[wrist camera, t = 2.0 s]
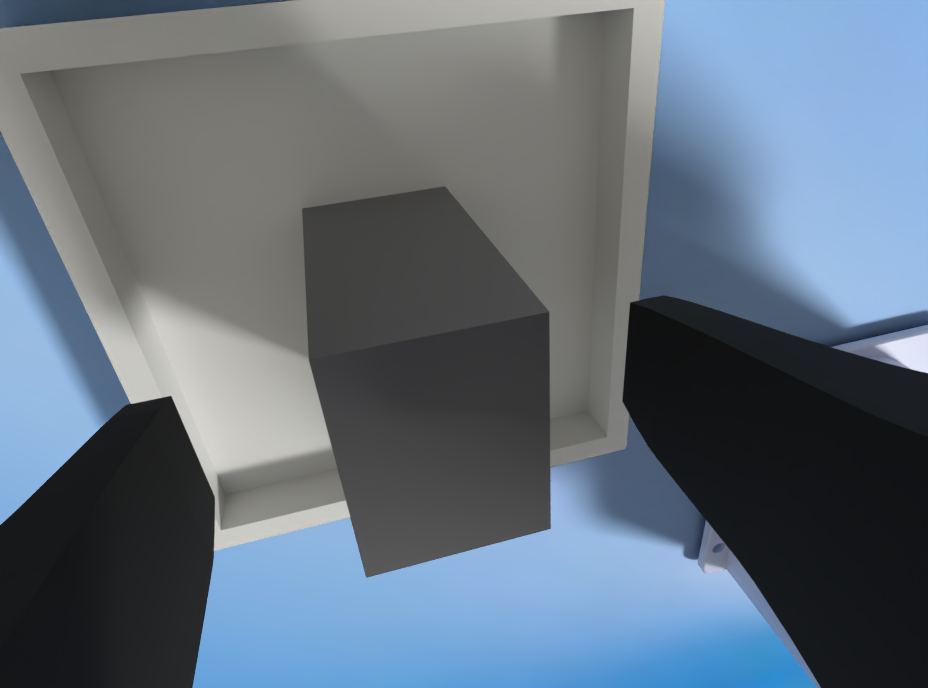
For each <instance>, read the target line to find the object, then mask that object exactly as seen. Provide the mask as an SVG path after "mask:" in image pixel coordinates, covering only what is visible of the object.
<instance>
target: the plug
mask: <svg viewBox="0 0 928 688" xmlns="http://www.w3.org/2000/svg"><path fill="white" fill-rule="evenodd" d="M302 219H303V242H304V264H305V287H306V310H307V333H308V355H309V363H310V367H311V370H312V374H313V378H314V382H315V385H316V389H317V393H318V397H319V401H320V404H321V408H322V412H323V416H324V419H325V423H326V427H327V431H328V435H329V438H330V442H331V446H332V450H333V454H334V457H335V461H336V465H337V469H338V472H339V476H340V480H341V484H342V488H343V491H344V495H345V499H346V503H347V506H348V510H349V514H350V518H351V522H352V525H353V529H354V533H355V537H356V540H357V544H358V548H359V552H360V556H361V559H362V563H363V567H364V571H365V575H366V578H367V577H371V576H375V575H378V574H382V573H386V572H390V571H393V570H397V569H401V568H405V567H408V566H412V565H416V564H420V563H423V562H427V561H431V560H435V559H438V558H442V557H446V556H450V555H453V554H457V553H461V552H465V551H469V550H472V549H476V548H480V547H484V546H487V545H491V544H495V543H499V542H502V541H506V540H510V539H514V538H517V537H521V536H525V535H529V534H532V533H536V532H540V531H544V530H547V529H551V525H550V328H549V311H548V310H547V308H546V307H545V306H544V305H543V304H542V302H541V301H540V300H539V299H538V297H537V296H536V295H535V294H534V293H533V291H532V290H531V289H530V288H529V287H528V285H527V284H526V283H525V282H524V281H523V279H522V278H521V277H520V276H519V275H518V273H517V272H516V271H515V270H514V269H513V267H512V266H511V265H510V264H509V263H508V261H507V260H506V259H505V258H504V257H503V255H502V254H501V253H500V252H499V251H498V249H497V248H496V247H495V246H494V245H493V243H492V242H491V241H490V240H489V239H488V237H487V236H486V235H485V234H484V233H483V231H482V230H481V229H480V228H479V226H478V225H477V224H476V223H475V222H474V220H473V219H472V218H471V217H470V216H469V214H468V213H467V212H466V211H465V210H464V208H463V207H462V206H461V205H460V204H459V202H458V201H457V200H456V199H455V198H454V196H453V195H452V194H451V193H450V192H449V190H448V189H447V188H446V187H445V186H444V187H438V188H431V189H425V190H418V191H412V192H405V193H399V194H393V195H386V196H380V197H373V198H367V199H360V200H354V201H347V202H341V203H334V204H328V205H322V206H315V207H309V208H302Z"/></svg>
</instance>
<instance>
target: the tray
mask: <svg viewBox="0 0 928 688" xmlns="http://www.w3.org/2000/svg"><path fill="white" fill-rule="evenodd" d="M664 5H665V0H293V1H283V2H272V3H262V4H251V5H240V6H230V7H219V8H209V9H198V10H188V11H177V12H167V13H156V14H146V15H135V16H125V17H114V18H103V19H93V20H82V21H72V22H61V23H51V24H40V25H30V26H19V27H9V28H0V131H1V133H2V136H3V138H4V140H5V142H6V144H7V146H8V148H9V150H10V152H11V154H12V156H13V159H14V161H15V163H16V165H17V167H18V169H19V171H20V173H21V175H22V177H23V179H24V182H25V184H26V186H27V188H28V190H29V192H30V194H31V196H32V198H33V200H34V202H35V204H36V207H37V209H38V211H39V213H40V215H41V217H42V219H43V221H44V223H45V225H46V227H47V230H48V232H49V234H50V236H51V238H52V240H53V242H54V244H55V246H56V248H57V250H58V253H59V255H60V257H61V259H62V261H63V263H64V265H65V267H66V269H67V271H68V273H69V276H70V278H71V280H72V282H73V284H74V286H75V288H76V290H77V292H78V294H79V296H80V299H81V301H82V303H83V305H84V307H85V309H86V311H87V313H88V315H89V317H90V319H91V322H92V324H93V326H94V328H95V330H96V332H97V334H98V336H99V338H100V340H101V342H102V344H103V347H104V349H105V351H106V353H107V355H108V357H109V359H110V361H111V363H112V365H113V367H114V370H115V372H116V374H117V376H118V378H119V380H120V382H121V384H122V386H123V388H124V390H125V393H126V395H127V397H128V399H129V401H130V403H131V404H134V403H139V402H143V401H148V400H153V399H158V398H163V397H168V396H172V399H173V401H174V403H175V406H176V408H177V410H178V413H179V415H180V417H181V419H182V422H183V424H184V426H185V429H186V431H187V433H188V436H189V438H190V440H191V443H192V445H193V447H194V450H195V452H196V454H197V457H198V459H199V461H200V464H201V466H202V468H203V471H204V473H205V475H206V478H207V480H208V482H209V484H210V487H211V489H212V491H213V494H214V496H215V533H214V551H215V550H219V549H223V548H227V547H231V546H235V545H240V544H244V543H248V542H252V541H256V540H260V539H264V538H268V537H272V536H276V535H280V534H284V533H288V532H292V531H296V530H300V529H304V528H308V527H312V526H316V525H320V524H325V523H329V522H333V521H337V520H341V519H345V518H349V517H350V514H349V510H348V506H347V503H346V499H345V495H344V491H343V488H342V484H341V480H340V476H339V472H338V469H337V465H336V461H335V457H334V454H333V450H332V446H331V442H330V438H329V435H328V431H327V427H326V423H325V419H324V416H323V412H322V408H321V404H320V401H319V397H318V393H317V389H316V385H315V382H314V378H313V374H312V370H311V367H310V363H309V355H308V333H307V310H306V287H305V264H304V242H303V219H302V208H309V207H315V206H322V205H328V204H334V203H341V202H347V201H354V200H360V199H367V198H373V197H380V196H386V195H393V194H399V193H405V192H412V191H418V190H425V189H431V188H438V187H444V186H445V187H446V188H447V189H448V190H449V192H450V193H451V194H452V195H453V196H454V198H455V199H456V200H457V201H458V202H459V204H460V205H461V206H462V207H463V208H464V210H465V211H466V212H467V213H468V214H469V216H470V217H471V218H472V219H473V220H474V222H475V223H476V224H477V225H478V226H479V228H480V229H481V230H482V231H483V233H484V234H485V235H486V236H487V237H488V239H489V240H490V241H491V242H492V243H493V245H494V246H495V247H496V248H497V249H498V251H499V252H500V253H501V254H502V255H503V257H504V258H505V259H506V260H507V261H508V263H509V264H510V265H511V266H512V267H513V269H514V270H515V271H516V272H517V273H518V275H519V276H520V277H521V278H522V279H523V281H524V282H525V283H526V284H527V285H528V287H529V288H530V289H531V290H532V291H533V293H534V294H535V295H536V296H537V297H538V299H539V300H540V301H541V302H542V304H543V305H544V306H545V307H546V308H547V310H548V311H549V328H550V468H551V467H555V466H559V465H563V464H567V463H571V462H576V461H580V460H584V459H588V458H592V457H596V456H600V455H604V454H608V453H612V452H616V451H620V450H624V449H626V448H627V437H628V425H629V413H628V411H627V409H626V407H625V405H624V404H623V402H622V398H623V386H624V373H625V360H626V348H627V335H628V322H629V309H630V302H634V301H639V297H640V285H641V273H642V262H643V250H644V238H645V227H646V215H647V203H648V192H649V180H650V168H651V157H652V145H653V134H654V122H655V110H656V99H657V87H658V75H659V64H660V52H661V40H662V29H663V17H664Z"/></svg>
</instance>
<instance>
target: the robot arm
mask: <svg viewBox="0 0 928 688" xmlns="http://www.w3.org/2000/svg"><path fill="white" fill-rule="evenodd" d="M622 402H623V404H624V405H625V407H626V409H627V411H628V413H629V414H630V416H631V418H632V420H633V422H634V423H635V425H636V427H637V429H638V430H639V432H640V433H641V435H642V437H643V438H644V440H645V442H646V443H647V445H648V447H649V448H650V450H651V451H652V452H653V454H654V455H655V456H656V458H657V459H658V460H659V461H660V463H661V464H662V465H663V467H664V468H665V469H666V470H667V472H668V473H669V474H670V475H671V477H672V478H673V479H674V481H675V482H676V483H677V484H678V486H679V487H680V488H681V489H682V491H683V492H684V493H685V494H686V496H687V497H688V498H689V499H690V501H691V502H692V503H693V504H694V506H695V507H696V508H697V509H698V511H699V512H700V513H701V514H702V516H703V517H704V518H705V519H706V522H705V528H704V533H703V538H702V543H701V548H700V553H699V558H698V565H699V567H700V568H701V569H702V571H703V572H704V573H708V574H711V573H715V572H719V571H722V570H725V569H727V570H728V572H729V573H730V574H731V576H732V577H733V578H734V580H735V581H736V582H737V583H738V585H739V586H740V587H741V589H742V590H743V591H744V593H745V594H746V595H747V596H748V598H749V599H750V600H751V602H752V603H753V604H754V606H755V607H756V608H757V610H758V611H759V612H760V613H761V615H762V616H763V617H764V619H765V620H766V621H767V623H768V624H769V625H770V627H771V628H772V629H773V630H774V632H775V633H776V634H777V636H778V637H779V638H780V640H781V641H782V642H783V643H784V645H785V646H786V647H787V649H788V650H789V651H790V653H791V654H792V655H793V657H794V658H795V659H796V660H797V662H798V663H799V664H800V666H801V667H802V668H803V670H804V671H805V672H806V673H807V675H808V676H809V677H810V679H811V680H812V681H813V683H814V684H815V685H816V687H817V688H928V325H924V326H920V327H916V328H911V329H907V330H902V331H898V332H894V333H889V334H885V335H881V336H876V337H872V338H868V339H863V340H859V341H855V342H850V343H846V344H841V345H837V346H833V347H828V346H825V345H822V344H819V343H816V342H812V341H809V340H806V339H803V338H800V337H796V336H793V335H790V334H787V333H784V332H781V331H778V330H775V329H772V328H769V327H766V326H763V325H760V324H757V323H754V322H751V321H748V320H745V319H742V318H739V317H736V316H733V315H730V314H727V313H724V312H721V311H718V310H715V309H712V308H708V307H705V306H702V305H699V304H696V303H692V302H689V301H685V300H681V299H677V298H673V297H668V296H659V297H654V298H649V299H644V300H639V301H634V302H630V309H629V322H628V335H627V348H626V360H625V373H624V386H623V398H622ZM214 533H215V496H214V494H213V491H212V489H211V487H210V484H209V482H208V480H207V478H206V475H205V473H204V471H203V468H202V466H201V464H200V461H199V459H198V457H197V454H196V452H195V450H194V447H193V445H192V443H191V440H190V438H189V436H188V433H187V431H186V429H185V426H184V424H183V422H182V419H181V417H180V415H179V413H178V410H177V408H176V406H175V403H174V401H173V399H172V396H168V397H163V398H158V399H153V400H148V401H143V402H139V403H134V404H129V405H126V406H125V407H123V408H122V409H121V410H120V411H119V412H117V413H116V414H115V415H114V416H113V417H112V418H111V419H110V420H109V421H107V422H106V423H105V424H104V425H103V426H102V427H101V428H100V429H99V430H98V431H97V432H96V433H95V434H94V435H93V436H92V437H91V438H90V439H89V440H88V441H87V442H86V443H85V444H84V445H83V446H82V447H81V448H80V449H79V450H78V451H77V452H76V453H75V454H74V455H73V456H72V457H71V458H70V459H69V460H68V461H67V462H66V463H65V464H64V465H63V466H62V467H60V468H59V469H58V470H57V471H56V472H55V473H54V474H53V475H52V476H51V477H50V478H49V479H48V480H47V481H46V482H45V483H44V484H43V485H42V486H41V487H40V488H39V489H38V490H37V491H36V492H35V493H34V494H33V495H32V496H31V497H30V498H29V499H28V500H27V501H26V502H25V503H24V504H23V505H22V506H21V507H20V508H18V509H17V510H16V511H15V512H14V513H13V514H12V515H11V516H10V517H9V518H8V519H7V520H6V521H4V522H3V523H2V524H1V525H0V688H192V686H193V680H194V675H195V669H196V663H197V657H198V651H199V645H200V639H201V633H202V628H203V622H204V616H205V610H206V604H207V597H208V591H209V585H210V579H211V572H212V566H213V558H214Z"/></svg>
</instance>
